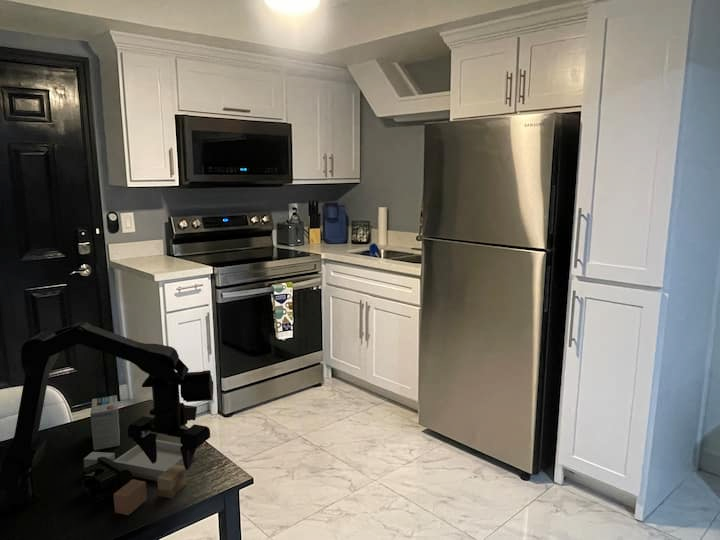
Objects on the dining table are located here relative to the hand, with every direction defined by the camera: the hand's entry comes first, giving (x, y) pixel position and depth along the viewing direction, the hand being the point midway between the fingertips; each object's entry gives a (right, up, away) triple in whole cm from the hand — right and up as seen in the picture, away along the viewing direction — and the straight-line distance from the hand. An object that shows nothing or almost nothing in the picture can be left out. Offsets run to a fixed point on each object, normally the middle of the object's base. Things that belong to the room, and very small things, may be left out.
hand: (170, 465), depth 122 cm
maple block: (0, -6, +1) cm, 6 cm away
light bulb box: (-27, -2, +25) cm, 37 cm away
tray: (-8, -4, +12) cm, 15 cm away
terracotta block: (-7, -7, -5) cm, 11 cm away
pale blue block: (-21, -5, +9) cm, 23 cm away
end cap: (-15, -6, +1) cm, 16 cm away
